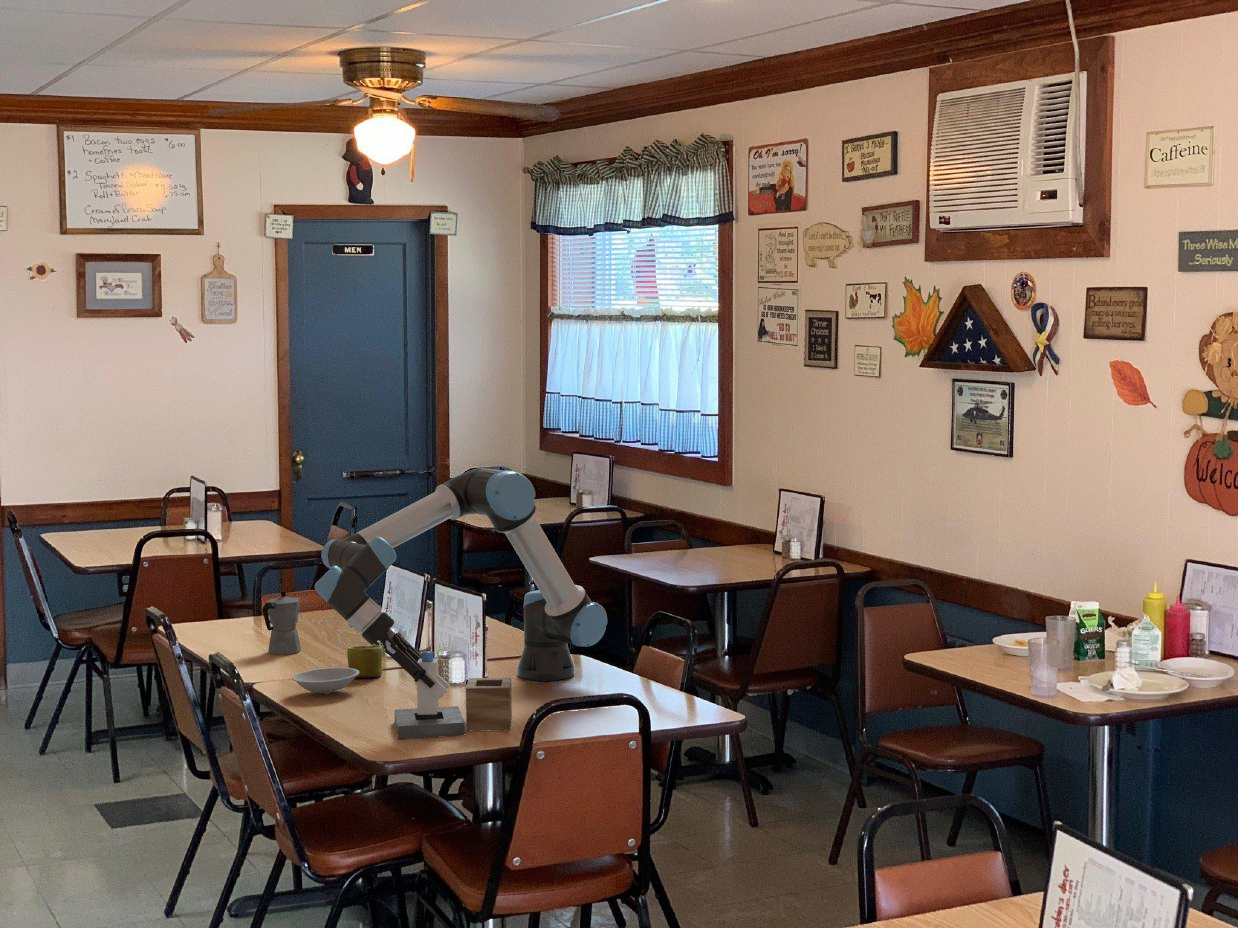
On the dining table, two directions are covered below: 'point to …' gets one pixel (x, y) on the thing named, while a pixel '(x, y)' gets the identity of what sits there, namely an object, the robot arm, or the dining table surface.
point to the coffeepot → (282, 624)
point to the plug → (425, 697)
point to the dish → (325, 679)
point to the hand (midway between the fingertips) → (444, 692)
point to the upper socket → (488, 704)
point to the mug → (366, 660)
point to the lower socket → (429, 723)
